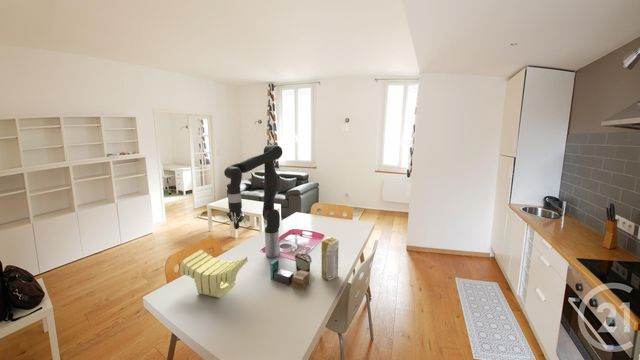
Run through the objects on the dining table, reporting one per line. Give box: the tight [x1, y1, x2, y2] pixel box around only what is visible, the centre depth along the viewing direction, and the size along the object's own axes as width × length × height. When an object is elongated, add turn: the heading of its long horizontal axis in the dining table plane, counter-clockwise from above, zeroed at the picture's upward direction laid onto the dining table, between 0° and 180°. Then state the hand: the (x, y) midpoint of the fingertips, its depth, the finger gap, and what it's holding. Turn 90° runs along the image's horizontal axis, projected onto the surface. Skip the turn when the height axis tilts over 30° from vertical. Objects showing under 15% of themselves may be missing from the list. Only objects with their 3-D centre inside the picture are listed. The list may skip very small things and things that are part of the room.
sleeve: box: [273, 268, 295, 286], centre depth 155 cm, size 5×10×5 cm, turn 63°
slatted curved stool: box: [179, 249, 248, 298], centre depth 145 cm, size 30×16×18 cm, turn 73°
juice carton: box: [320, 236, 339, 282], centre depth 158 cm, size 9×8×24 cm
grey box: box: [269, 258, 293, 283], centre depth 153 cm, size 6×20×10 cm, turn 64°
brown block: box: [292, 270, 311, 292], centre depth 150 cm, size 8×6×7 cm
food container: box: [294, 253, 313, 273], centre depth 165 cm, size 12×6×10 cm, turn 47°
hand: (236, 228), depth 163 cm, fingers closed
